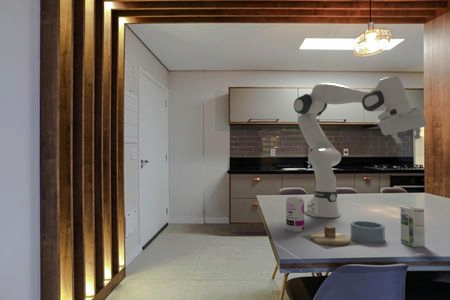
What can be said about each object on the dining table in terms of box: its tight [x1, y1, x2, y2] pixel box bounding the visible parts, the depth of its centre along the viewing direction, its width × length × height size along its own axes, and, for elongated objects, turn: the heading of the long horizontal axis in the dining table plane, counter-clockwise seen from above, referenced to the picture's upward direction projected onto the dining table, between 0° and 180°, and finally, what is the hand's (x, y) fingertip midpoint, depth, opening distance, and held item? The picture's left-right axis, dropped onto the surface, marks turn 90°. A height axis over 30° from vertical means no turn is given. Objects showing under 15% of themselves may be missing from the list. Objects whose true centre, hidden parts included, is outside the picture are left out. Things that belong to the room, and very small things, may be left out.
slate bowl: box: [350, 220, 386, 244], centre depth 113 cm, size 12×12×6 cm
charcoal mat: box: [300, 234, 363, 250], centre depth 111 cm, size 17×17×1 cm
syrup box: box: [399, 205, 426, 248], centre depth 105 cm, size 6×6×14 cm
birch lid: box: [310, 225, 351, 246], centre depth 111 cm, size 15×15×5 cm
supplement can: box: [285, 196, 306, 233], centre depth 127 cm, size 8×8×15 cm
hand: (408, 140), depth 119 cm, fingers open, 8 cm apart
